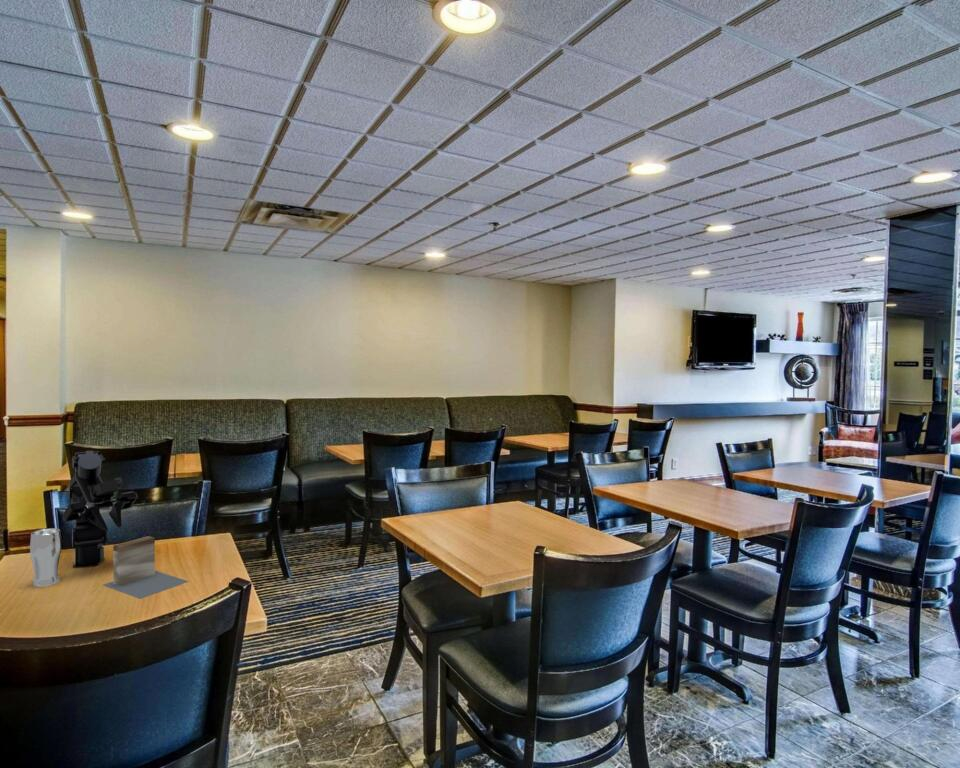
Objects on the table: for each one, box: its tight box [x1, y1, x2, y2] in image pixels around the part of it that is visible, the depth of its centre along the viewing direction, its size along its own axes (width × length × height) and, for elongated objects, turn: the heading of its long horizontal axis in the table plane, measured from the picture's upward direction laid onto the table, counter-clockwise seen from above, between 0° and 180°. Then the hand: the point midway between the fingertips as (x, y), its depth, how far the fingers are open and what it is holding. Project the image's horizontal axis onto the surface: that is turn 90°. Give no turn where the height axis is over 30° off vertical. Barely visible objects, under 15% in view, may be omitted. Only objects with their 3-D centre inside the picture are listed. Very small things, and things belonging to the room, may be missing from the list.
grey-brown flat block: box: [112, 535, 156, 586], centre depth 165 cm, size 3×10×11 cm, turn 151°
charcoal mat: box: [102, 570, 190, 600], centre depth 162 cm, size 18×14×1 cm
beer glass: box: [29, 527, 62, 588], centre depth 161 cm, size 7×7×15 cm
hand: (113, 528), depth 170 cm, fingers open, 4 cm apart
